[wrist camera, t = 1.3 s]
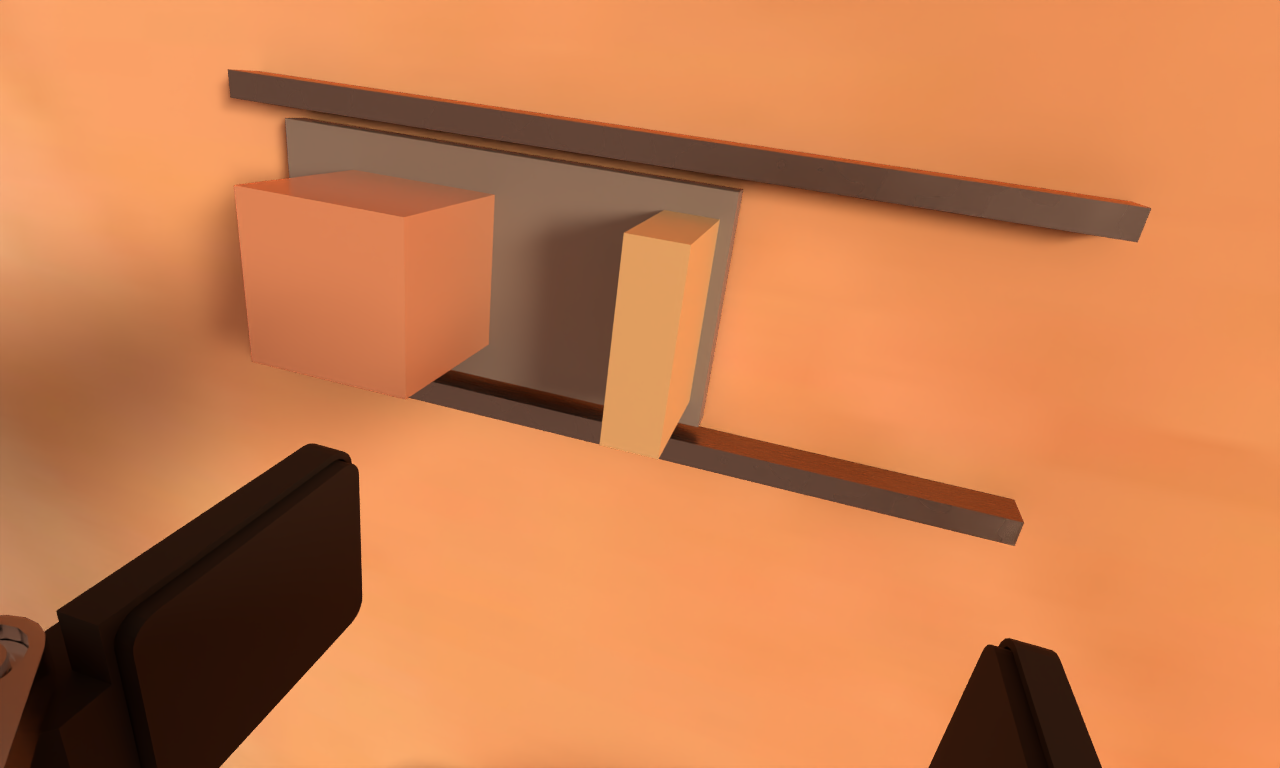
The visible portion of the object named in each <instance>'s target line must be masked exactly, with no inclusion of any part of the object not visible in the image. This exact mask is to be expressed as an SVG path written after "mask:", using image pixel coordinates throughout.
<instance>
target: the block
mask: <svg viewBox="0 0 1280 768" xmlns="http://www.w3.org/2000/svg"><path fill="white" fill-rule="evenodd" d="M234 192H235V202H236V211H237V221H238V231H239V241H240V251H241V260H242V270H243V280H244V290H245V299H246V309H247V319H248V329H249V339H250V348H251V358H252V362H255V363H259V364H263V365H268V366H272V367H276V368H280V369H284V370H288V371H292V372H296V373H300V374H304V375H308V376H312V377H316V378H320V379H325V380H329V381H333V382H337V383H341V384H345V385H349V386H353V387H357V388H361V389H365V390H369V391H373V392H377V393H381V394H386V395H390V396H394V397H398V398H402V399H407V398H409V397H410V396H412V395H413V394H415V393H416V392H418V391H419V390H421V389H422V388H424V387H425V386H427V385H428V384H430V383H431V382H433V381H434V380H436V379H437V378H439V377H440V376H442V375H443V374H445V373H446V372H448V371H449V370H451V369H452V368H454V367H455V366H457V365H458V364H460V363H461V362H463V361H464V360H466V359H468V358H469V357H471V356H472V355H474V354H475V353H477V352H478V351H480V350H481V349H483V348H484V347H486V346H487V345H489V324H490V299H491V275H492V251H493V226H494V202H495V195H494V194H489V193H483V192H477V191H471V190H466V189H460V188H454V187H449V186H443V185H437V184H432V183H426V182H420V181H415V180H409V179H403V178H398V177H392V176H386V175H381V174H375V173H369V172H364V171H358V170H348V171H340V172H333V173H325V174H317V175H309V176H301V177H294V178H286V179H278V180H270V181H263V182H255V183H247V184H239V185H234Z"/></svg>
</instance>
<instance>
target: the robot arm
mask: <svg viewBox="0 0 1280 768" xmlns="http://www.w3.org/2000/svg"><path fill="white" fill-rule="evenodd" d="M361 603H362V569H361V533H360V497H359V472H358V468H357V467H356V466H355V465H354V464H352V462H351V458H350V456H349V454H347V453H345V452H343V451H339V450H336V449H332V448H329V447H325V446H321V445H318V444H307V445H305V446H303V447H302V448H300V449H299V450H297V451H296V452H294V453H293V454H291V455H290V456H288V457H287V458H285V459H284V460H282V461H281V462H279V463H278V464H276V465H275V466H273V467H272V468H270V469H269V470H267V471H266V472H264V473H263V474H261V475H260V476H258V477H257V478H255V479H254V480H252V481H251V482H249V483H248V484H246V485H245V486H243V487H242V488H240V489H239V490H237V491H236V492H234V493H233V494H231V495H230V496H228V497H227V498H225V499H224V500H222V501H221V502H219V503H218V504H216V505H215V506H213V507H212V508H210V509H209V510H207V511H206V512H204V513H203V514H201V515H200V516H198V517H197V518H195V519H194V520H192V521H191V522H189V523H188V524H186V525H185V526H183V527H182V528H180V529H179V530H177V531H176V532H174V533H173V534H171V535H170V536H168V537H167V538H165V539H164V540H162V541H161V542H159V543H158V544H156V545H155V546H153V547H152V548H150V549H149V550H147V551H146V552H144V553H143V554H141V555H140V556H138V557H137V558H135V559H134V560H132V561H131V562H129V563H128V564H126V565H125V566H123V567H122V568H120V569H119V570H117V571H116V572H114V573H113V574H111V575H110V576H108V577H107V578H105V579H104V580H102V581H101V582H99V583H98V584H96V585H95V586H93V587H92V588H90V589H89V590H87V591H86V592H84V593H83V594H81V595H80V596H78V597H77V598H75V599H74V600H72V601H71V602H69V603H68V604H66V605H64V606H63V607H61V608H60V609H58V610H57V611H56V612H57V615H58V619H59V622H58V623H56V624H55V625H53V626H52V627H51V628H49V629H48V630H46V631H45V632H44V631H43V629H42V628H41V626H40V625H39V624H38V623H36V622H34V621H32V620H30V619H28V618H26V617H18V616H10V615H0V768H219V767H220V766H221V765H222V764H223V763H224V762H225V761H226V760H227V759H228V758H229V756H230V755H231V754H232V753H233V752H234V751H235V750H236V749H237V748H238V747H239V745H240V744H241V743H242V742H243V741H244V740H245V739H246V738H247V737H248V736H249V735H250V733H251V732H252V731H253V730H254V729H255V728H256V727H257V726H258V725H259V724H260V723H261V721H262V720H263V719H264V718H265V717H266V716H267V715H268V714H269V713H270V712H271V710H272V709H273V708H274V707H275V706H276V705H277V704H278V703H279V702H280V701H281V700H282V698H283V697H284V696H285V695H286V694H287V693H288V692H289V691H290V690H291V689H292V688H293V686H294V685H295V684H296V683H297V682H298V681H299V680H300V679H301V678H302V677H303V675H304V674H305V673H306V672H307V671H308V670H309V669H310V668H311V667H312V666H313V665H314V663H315V662H316V661H317V660H318V659H319V658H320V657H321V656H322V655H323V654H324V652H325V651H326V650H327V649H328V648H329V647H330V646H331V645H332V644H333V643H334V642H335V640H336V639H337V638H338V637H339V636H340V635H341V634H342V633H343V632H344V631H345V630H346V628H347V627H348V626H349V625H350V624H351V623H352V622H353V620H354V619H355V617H356V616H357V614H358V612H359V609H360V607H361ZM929 768H1102V767H1101V764H1100V762H1099V759H1098V756H1097V754H1096V751H1095V749H1094V746H1093V743H1092V741H1091V738H1090V736H1089V733H1088V731H1087V728H1086V725H1085V723H1084V720H1083V718H1082V715H1081V713H1080V710H1079V707H1078V705H1077V702H1076V700H1075V697H1074V695H1073V692H1072V689H1071V687H1070V684H1069V682H1068V679H1067V676H1066V674H1065V671H1064V669H1063V666H1062V664H1061V661H1060V659H1059V657H1058V655H1057V653H1055V652H1054V651H1052V650H1049V649H1046V648H1042V647H1039V646H1035V645H1032V644H1028V643H1024V642H1021V641H1017V640H1014V639H1010V638H1007V639H1004V640H1003V641H1002V642H1001V643H1000V645H999V646H998V647H997V646H994V645H987V646H986V647H985V648H984V650H983V652H982V654H981V656H980V658H979V660H978V662H977V664H976V667H975V669H974V671H973V673H972V675H971V677H970V679H969V682H968V684H967V686H966V688H965V690H964V692H963V695H962V697H961V699H960V701H959V703H958V705H957V708H956V710H955V712H954V714H953V716H952V718H951V721H950V723H949V725H948V727H947V729H946V731H945V733H944V736H943V738H942V740H941V742H940V744H939V746H938V749H937V751H936V753H935V755H934V757H933V759H932V762H931V764H930V766H929Z"/></svg>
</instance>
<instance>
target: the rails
mask: <svg viewBox="0 0 1280 768" xmlns="http://www.w3.org/2000/svg"><path fill="white" fill-rule="evenodd" d="M228 77H229V87H230V97H231V98H237V99H243V100H249V101H256V102H262V103H268V104H274V105H281V106H287V107H293V108H299V109H306V110H312V111H318V112H324V113H331V114H337V115H343V116H350V117H356V118H362V119H368V120H375V121H381V122H387V123H393V124H400V125H406V126H412V127H418V128H425V129H431V130H437V131H443V132H450V133H456V134H462V135H469V136H475V137H481V138H487V139H494V140H500V141H506V142H512V143H519V144H525V145H531V146H537V147H544V148H550V149H556V150H563V151H569V152H575V153H581V154H588V155H594V156H600V157H606V158H613V159H619V160H625V161H631V162H638V163H644V164H650V165H657V166H663V167H669V168H675V169H682V170H688V171H694V172H700V173H707V174H713V175H719V176H725V177H732V178H738V179H744V180H751V181H757V182H763V183H769V184H776V185H782V186H788V187H794V188H801V189H807V190H813V191H819V192H826V193H832V194H838V195H845V196H851V197H857V198H863V199H870V200H876V201H882V202H888V203H895V204H901V205H907V206H913V207H920V208H926V209H932V210H939V211H945V212H951V213H957V214H964V215H970V216H976V217H982V218H989V219H995V220H1001V221H1007V222H1014V223H1020V224H1026V225H1033V226H1039V227H1045V228H1051V229H1058V230H1064V231H1070V232H1076V233H1083V234H1089V235H1095V236H1101V237H1108V238H1114V239H1120V240H1127V241H1133V242H1138V240H1139V237H1140V235H1141V232H1142V230H1143V227H1144V225H1145V223H1146V220H1147V218H1148V215H1149V213H1150V210H1151V208H1149V207H1146V206H1143V205H1140V204H1137V203H1134V202H1131V201H1124V200H1117V199H1110V198H1104V197H1097V196H1090V195H1084V194H1077V193H1070V192H1064V191H1057V190H1050V189H1044V188H1037V187H1030V186H1023V185H1017V184H1010V183H1003V182H997V181H990V180H983V179H977V178H970V177H963V176H957V175H950V174H943V173H936V172H930V171H923V170H916V169H910V168H903V167H896V166H890V165H883V164H876V163H870V162H863V161H856V160H850V159H843V158H836V157H829V156H823V155H816V154H809V153H803V152H796V151H789V150H783V149H776V148H769V147H763V146H756V145H749V144H742V143H736V142H729V141H722V140H716V139H709V138H702V137H696V136H689V135H682V134H676V133H669V132H662V131H655V130H649V129H642V128H635V127H629V126H622V125H615V124H609V123H602V122H595V121H589V120H582V119H575V118H568V117H562V116H555V115H548V114H542V113H535V112H528V111H522V110H515V109H508V108H502V107H495V106H488V105H481V104H475V103H468V102H461V101H455V100H448V99H441V98H435V97H428V96H421V95H415V94H408V93H401V92H394V91H388V90H381V89H374V88H368V87H361V86H354V85H348V84H341V83H334V82H328V81H321V80H314V79H307V78H301V77H294V76H287V75H281V74H274V73H267V72H261V71H246V70H229V69H228ZM409 398H412V399H417V400H421V401H425V402H429V403H433V404H437V405H441V406H445V407H449V408H453V409H457V410H461V411H466V412H470V413H474V414H478V415H482V416H486V417H490V418H494V419H498V420H502V421H506V422H510V423H515V424H519V425H523V426H527V427H531V428H535V429H539V430H543V431H547V432H551V433H555V434H559V435H564V436H568V437H572V438H576V439H580V440H584V441H588V442H592V443H596V444H600V437H601V428H602V420H603V411H604V405H600V404H596V403H592V402H587V401H583V400H579V399H575V398H570V397H566V396H562V395H557V394H553V393H549V392H544V391H540V390H536V389H532V388H527V387H523V386H519V385H514V384H510V383H506V382H502V381H497V380H493V379H489V378H484V377H480V376H476V375H472V374H467V373H463V372H459V371H454V370H449V371H448V372H446V373H445V374H443V375H442V376H440V377H439V378H437V379H436V380H434V381H433V382H431V383H430V384H428V385H427V386H425V387H424V388H422V389H421V390H419V391H418V392H416V393H415V394H413V395H412V396H410V397H409ZM659 459H662V460H666V461H670V462H674V463H678V464H682V465H686V466H690V467H694V468H698V469H702V470H706V471H711V472H715V473H719V474H723V475H727V476H731V477H735V478H739V479H743V480H747V481H751V482H755V483H760V484H764V485H768V486H772V487H776V488H780V489H784V490H788V491H792V492H796V493H800V494H804V495H809V496H813V497H817V498H821V499H825V500H829V501H833V502H837V503H841V504H845V505H849V506H853V507H858V508H862V509H866V510H870V511H874V512H878V513H882V514H886V515H890V516H894V517H898V518H902V519H907V520H911V521H915V522H919V523H923V524H927V525H931V526H935V527H939V528H943V529H947V530H951V531H956V532H960V533H964V534H968V535H972V536H976V537H980V538H984V539H988V540H992V541H996V542H1000V543H1005V544H1009V545H1013V546H1015V543H1016V541H1017V538H1018V536H1019V533H1020V531H1021V529H1022V526H1023V524H1024V522H1023V519H1022V517H1021V515H1020V512H1019V510H1018V508H1017V505H1016V503H1015V501H1014V500H1012V499H1008V498H1004V497H999V496H995V495H991V494H986V493H982V492H978V491H973V490H969V489H965V488H961V487H956V486H952V485H948V484H943V483H939V482H935V481H931V480H926V479H922V478H918V477H913V476H909V475H905V474H900V473H896V472H892V471H888V470H883V469H879V468H875V467H870V466H866V465H862V464H857V463H853V462H849V461H845V460H840V459H836V458H832V457H827V456H823V455H819V454H815V453H810V452H806V451H802V450H797V449H793V448H789V447H784V446H780V445H776V444H772V443H767V442H763V441H759V440H754V439H750V438H746V437H742V436H737V435H733V434H729V433H724V432H720V431H716V430H711V429H707V428H703V427H699V426H698V427H695V426H690V425H686V424H682V423H678V424H677V426H676V427H675V429H674V431H673V433H672V435H671V437H670V439H669V440H668V442H667V444H666V446H665V448H664V450H663V452H662V453H661V455H660V457H659Z"/></svg>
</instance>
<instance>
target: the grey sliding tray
mask: <svg viewBox="0 0 1280 768" xmlns="http://www.w3.org/2000/svg"><path fill="white" fill-rule="evenodd" d="M285 123H286V137H287V151H288V165H289V178H294V177H301V176H309V175H317V174H325V173H333V172H340V171H348V170H358V171H364V172H369V173H375V174H381V175H386V176H392V177H398V178H403V179H409V180H415V181H420V182H426V183H432V184H437V185H443V186H449V187H454V188H460V189H466V190H471V191H477V192H483V193H489V194H494V195H495V202H494V226H493V251H492V275H491V299H490V324H489V345H487V346H486V347H484V348H483V349H481V350H480V351H478V352H477V353H475V354H474V355H472V356H471V357H469V358H468V359H466V360H464V361H463V362H461V363H460V364H458V365H457V366H455V367H454V368H452V369H451V370H454V371H459V372H463V373H467V374H472V375H476V376H480V377H484V378H489V379H493V380H497V381H502V382H506V383H510V384H514V385H519V386H523V387H527V388H532V389H536V390H540V391H544V392H549V393H553V394H557V395H562V396H566V397H570V398H575V399H579V400H583V401H587V402H592V403H596V404H600V405H604V411H603V420H602V428H601V437H600V445H601V446H605V447H609V448H613V449H617V450H621V451H625V452H629V453H633V454H637V455H641V456H646V457H650V458H654V459H659V457H660V455H661V453H662V452H663V450H664V448H665V446H666V444H667V442H668V440H669V439H670V437H671V435H672V433H673V431H674V429H675V427H676V426H677V424H678V423H682V424H686V425H690V426H695V427H698V426H699V424H700V422H701V420H702V418H703V413H704V408H705V402H706V396H707V391H708V385H709V379H710V374H711V368H712V362H713V357H714V351H715V345H716V340H717V334H718V328H719V323H720V317H721V312H722V306H723V300H724V295H725V289H726V283H727V278H728V272H729V266H730V261H731V255H732V249H733V244H734V238H735V232H736V227H737V221H738V216H739V210H740V204H741V199H742V193H743V189H738V188H731V187H725V186H719V185H713V184H707V183H701V182H694V181H688V180H682V179H676V178H670V177H664V176H657V175H651V174H645V173H639V172H633V171H627V170H621V169H614V168H608V167H602V166H596V165H590V164H584V163H577V162H571V161H565V160H559V159H553V158H547V157H541V156H534V155H528V154H522V153H516V152H510V151H504V150H497V149H491V148H485V147H479V146H473V145H467V144H461V143H454V142H448V141H442V140H436V139H430V138H424V137H417V136H411V135H405V134H399V133H393V132H387V131H380V130H374V129H368V128H362V127H356V126H350V125H344V124H337V123H331V122H325V121H319V120H313V119H307V118H285Z"/></svg>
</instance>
